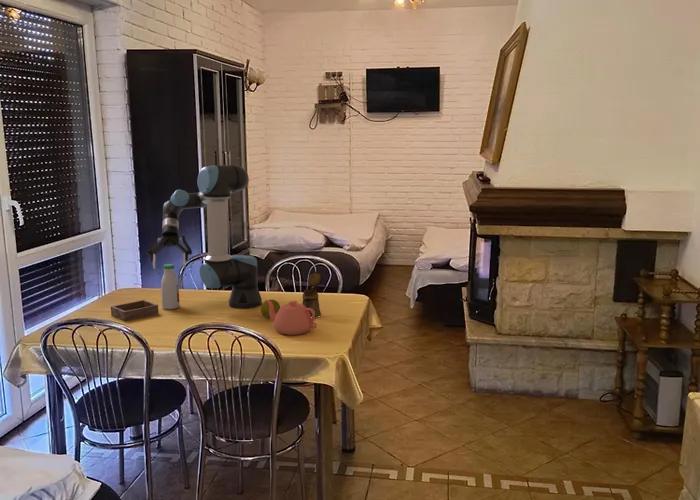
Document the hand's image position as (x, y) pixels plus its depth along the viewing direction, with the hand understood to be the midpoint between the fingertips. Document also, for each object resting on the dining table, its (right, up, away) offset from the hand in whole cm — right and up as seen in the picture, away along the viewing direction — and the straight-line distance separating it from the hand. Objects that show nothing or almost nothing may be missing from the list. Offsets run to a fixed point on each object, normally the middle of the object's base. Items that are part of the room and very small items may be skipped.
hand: (169, 266), depth 293 cm
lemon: (+49, -22, -19) cm, 57 cm away
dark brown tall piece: (+67, -21, -14) cm, 72 cm away
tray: (-11, -21, -15) cm, 28 cm away
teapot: (+60, -25, -37) cm, 74 cm away
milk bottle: (+2, -19, -4) cm, 19 cm away
